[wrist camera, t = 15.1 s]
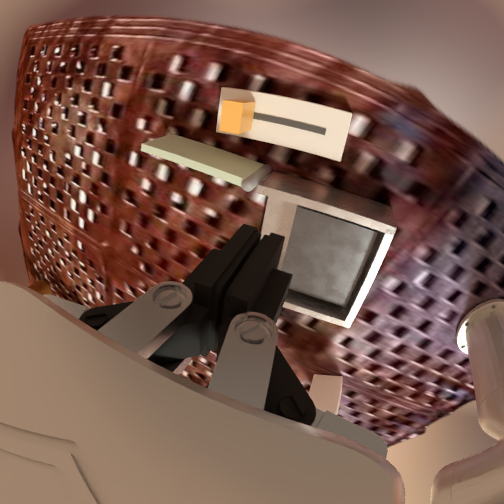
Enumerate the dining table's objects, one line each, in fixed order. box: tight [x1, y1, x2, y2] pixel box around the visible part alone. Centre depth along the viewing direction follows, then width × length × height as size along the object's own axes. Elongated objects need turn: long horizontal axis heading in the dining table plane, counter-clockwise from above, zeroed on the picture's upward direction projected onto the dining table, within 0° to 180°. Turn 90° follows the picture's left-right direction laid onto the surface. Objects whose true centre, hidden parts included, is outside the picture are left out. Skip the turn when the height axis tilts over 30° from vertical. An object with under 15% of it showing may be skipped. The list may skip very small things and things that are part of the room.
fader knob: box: [219, 99, 256, 134], centre depth 31 cm, size 2×4×4 cm, turn 171°
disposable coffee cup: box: [28, 279, 51, 295], centre depth 77 cm, size 10×10×12 cm
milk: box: [309, 374, 342, 415], centre depth 46 cm, size 6×6×22 cm
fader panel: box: [216, 87, 352, 162], centre depth 33 cm, size 16×6×2 cm, turn 81°
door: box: [141, 134, 272, 191], centre depth 35 cm, size 1×16×7 cm, turn 74°
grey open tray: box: [258, 171, 397, 328], centre depth 38 cm, size 16×16×6 cm
